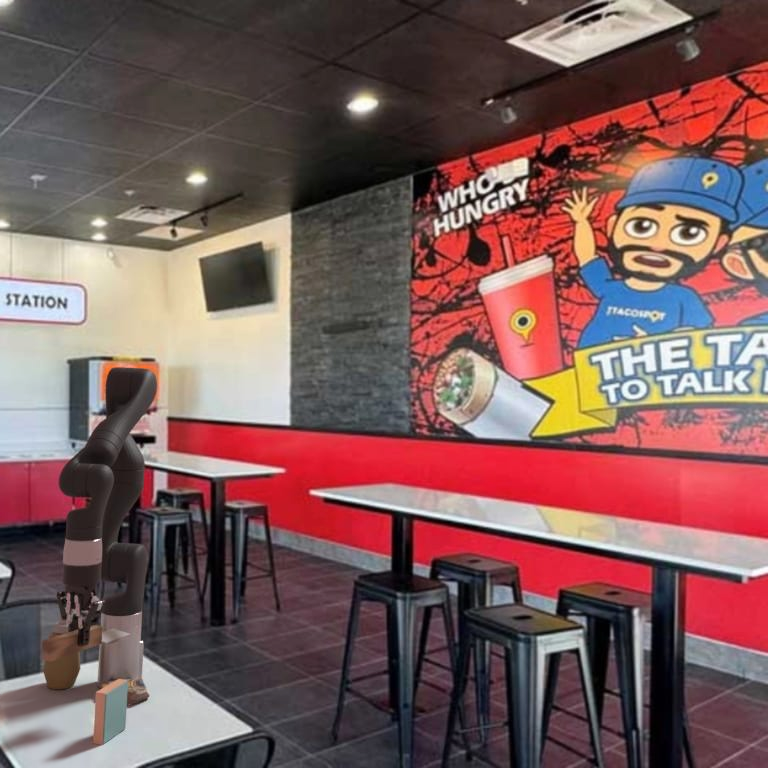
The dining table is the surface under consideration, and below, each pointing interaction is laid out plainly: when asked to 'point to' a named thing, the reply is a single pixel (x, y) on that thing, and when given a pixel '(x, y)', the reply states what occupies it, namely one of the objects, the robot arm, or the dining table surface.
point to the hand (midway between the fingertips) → (78, 643)
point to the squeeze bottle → (62, 664)
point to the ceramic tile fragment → (133, 690)
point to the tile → (110, 711)
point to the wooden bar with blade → (69, 642)
